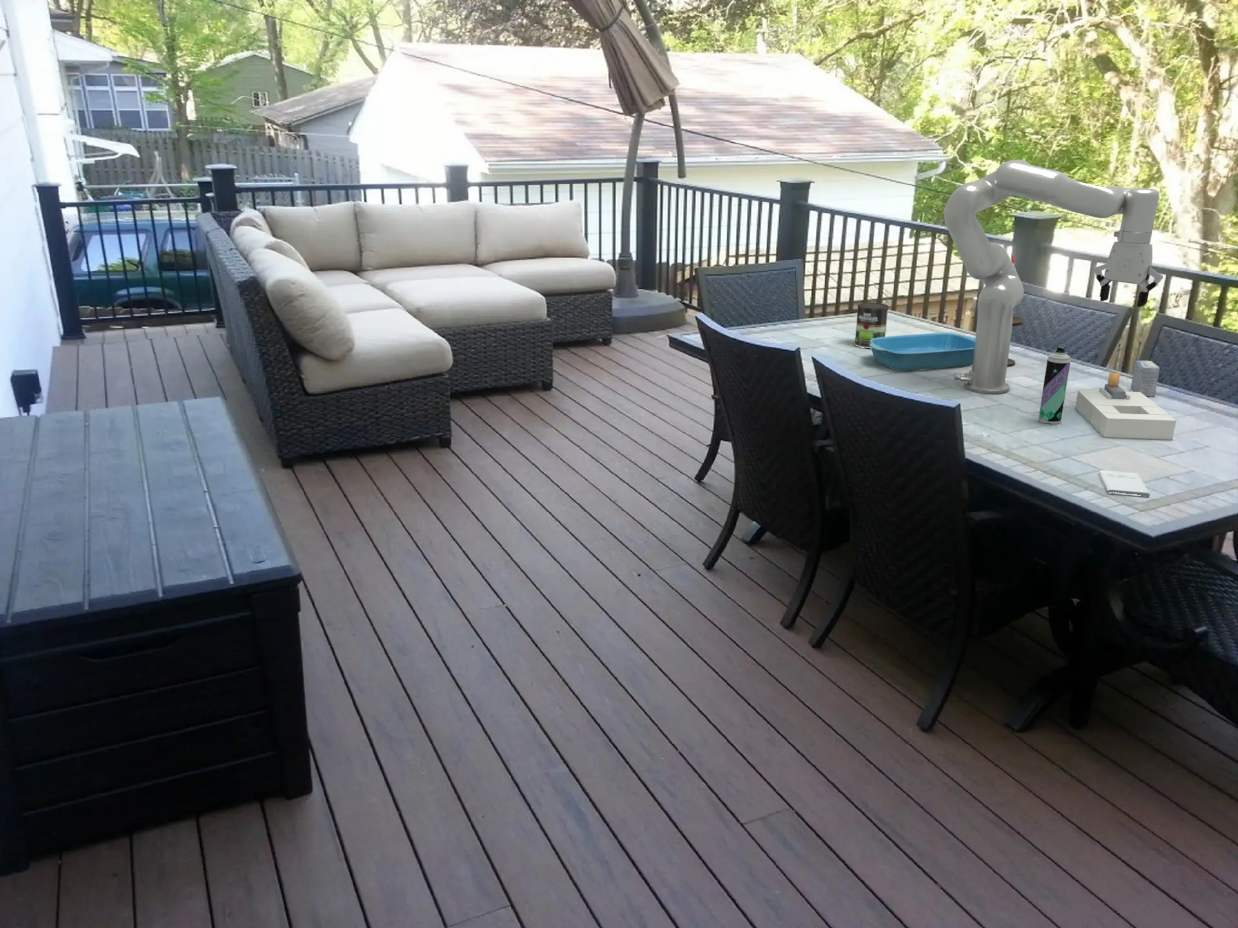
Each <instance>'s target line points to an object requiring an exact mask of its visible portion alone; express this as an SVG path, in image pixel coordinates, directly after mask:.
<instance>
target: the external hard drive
mask: <svg viewBox="0 0 1238 928" xmlns="http://www.w3.org/2000/svg"><path fill="white" fill-rule="evenodd" d="M1098 472H1099V474H1098V476H1099V475H1100V477H1099V479H1100V478H1101V479H1100V481H1101V480H1102V481H1101V483H1102V482H1103V483H1104V485H1105V487H1106V489H1105V491H1106V490H1107V491H1108V492H1117V493H1118V492H1119V493H1126V494H1137V495H1141V496H1146V497H1145V498H1148V497H1149V498H1150V495H1151V494H1150V491H1149V489H1148V488H1147V486H1146V485H1145V483H1144V481H1143V480H1142V478H1141V476H1140V474H1139V473H1137V472H1128V471H1116V470H1104V469H1100V470H1098ZM1103 483H1102V484H1103ZM1104 485H1103V486H1104ZM1105 487H1104V488H1105Z"/></svg>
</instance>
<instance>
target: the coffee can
mask: <svg viewBox="0 0 1238 928" xmlns="http://www.w3.org/2000/svg"><path fill="white" fill-rule="evenodd" d="M889 308H890V307H889V305H888V304H885V303H880V302H862V303H858V304H857V311H856V312H857V313H856V314H857V315H856V323H855V324H856V326H855V337H854V338H855V339H854V346H855V345H857V346H859V347H864V348H870V349H869V350H872V348H871V347H870V340H871V339H873V338H878V337H886V334H887V332H886V331H887V325H888V324H887V323H888V312H889ZM859 347H858V348H859ZM864 348H863V349H864Z"/></svg>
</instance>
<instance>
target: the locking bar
mask: <svg viewBox="0 0 1238 928" xmlns="http://www.w3.org/2000/svg"><path fill="white" fill-rule="evenodd" d="M1120 377H1121V374H1120V373H1118V372H1117V373H1116V372H1109V373H1108V378H1107V379H1108V380H1107V383H1105V384H1104V387H1103V388H1104V389H1105V390H1106V391H1107V392H1108V393H1109V394H1110V395H1112V399H1124V398H1125V392H1126V391H1125V390H1124V389H1123V388H1122V387H1121V386H1120V385H1119V383H1120Z"/></svg>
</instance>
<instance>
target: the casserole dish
mask: <svg viewBox="0 0 1238 928" xmlns="http://www.w3.org/2000/svg"><path fill="white" fill-rule="evenodd" d="M975 339H976V337H973V336H969V335H962V334H959V333H953V332H932V333H931V332H929V333H920V334H919V333H918V334H916V333H915V334H903V335H891V336H890V335H889V336H885V337H878V338H873V339H871V340H870V347H871V348H872V349H871V353H872V356H873V357H874V359H875V360H876V361H877V362H878V361H879V363H880V362H881V363H880V364H882V365H883V366H886V367H887V368H890V367H891V368H890V369H892V368H893V369H892V370H895V369H897V370H896V371H903V370H910V371H922V370H921V369H926V370H936V369H947V368H958V367H966V366H969V365H972V363H973V355H974V347H975Z"/></svg>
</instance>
